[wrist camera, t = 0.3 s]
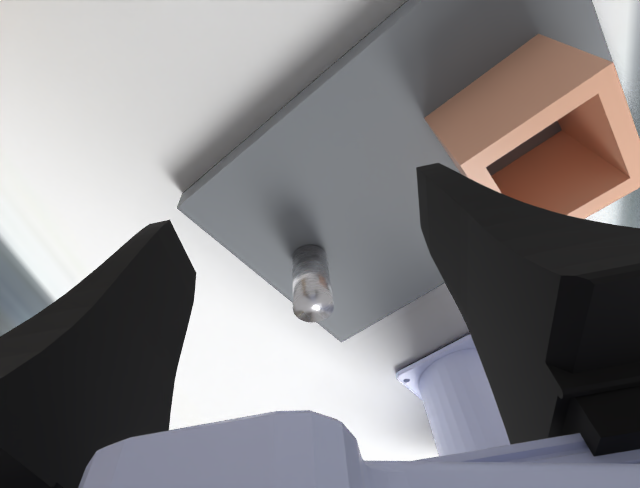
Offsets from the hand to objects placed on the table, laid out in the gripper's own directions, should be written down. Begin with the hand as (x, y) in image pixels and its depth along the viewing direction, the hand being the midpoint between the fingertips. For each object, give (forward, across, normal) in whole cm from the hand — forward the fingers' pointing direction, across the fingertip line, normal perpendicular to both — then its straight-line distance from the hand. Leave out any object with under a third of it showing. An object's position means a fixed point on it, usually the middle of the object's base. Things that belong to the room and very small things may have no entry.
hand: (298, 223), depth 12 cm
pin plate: (+10, -5, +5) cm, 12 cm away
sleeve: (+9, -10, +2) cm, 13 cm away
